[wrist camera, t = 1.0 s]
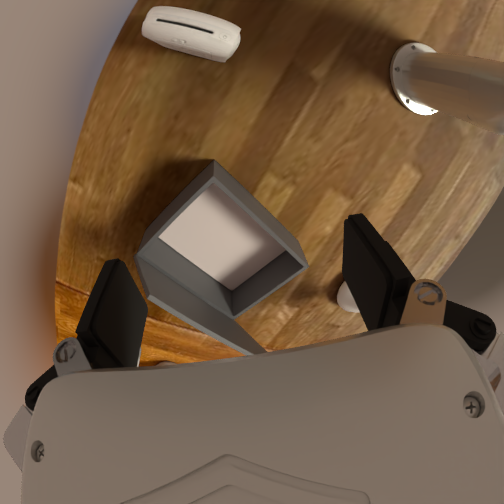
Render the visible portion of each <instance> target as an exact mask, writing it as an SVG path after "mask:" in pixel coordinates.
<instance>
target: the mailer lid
mask: <svg viewBox="0 0 504 504" xmlns="http://www.w3.org/2000/svg"><path fill="white" fill-rule="evenodd" d="M133 257H134V260H135V264H136V267H137V270H138V273H139V276H140V279H141V282H142V285H143V288H144V291H145V294H146V297H147V299H149V300H150V301H152V302H153V303H155V304H157V305H158V306H160V307H161V308H163V309H165V310H166V311H168V312H170V313H171V314H173V315H174V316H176V317H178V318H180V319H181V320H183V321H185V322H186V323H188V324H190V325H191V326H193V327H195V328H197V329H198V330H200V331H202V332H204V333H206V334H207V335H209V336H211V337H213V338H215V339H216V340H218V341H220V342H222V343H224V344H226V345H228V346H229V347H231V348H233V349H235V350H237V351H239V352H241V353H243V354H245V355H247V356H249V355H255V354H261V353H267V351H266V350H265V349H264V348H263V347H261V346H260V345H259V344H258V343H257V342H256V341H255V340H254V339H253V338H252V337H251V336H250V335H249V334H248V333H247V332H246V331H245V330H244V329H243V328H242V327H241V326H240V325H239V324H238V323H237V322H236V321H235V320H233V319H231V318H230V317H228V316H227V315H225V314H223V313H222V312H220V311H219V310H217V309H215V308H214V307H212V306H211V305H209V304H208V303H206V302H205V301H203V300H202V299H200V298H198V297H197V296H195V295H194V294H192V293H191V292H189V291H188V290H186V289H185V288H183V287H182V286H180V285H179V284H177V283H176V282H175V281H173V280H172V279H170V278H169V277H167V276H166V275H164V274H163V273H161V272H160V271H159V270H157V269H156V268H154V267H153V266H152V265H150V264H149V263H147V262H146V261H144V260H143V259H142V258H140V257H139V256H138V255H136V254H135V255H134V256H133Z"/></svg>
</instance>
